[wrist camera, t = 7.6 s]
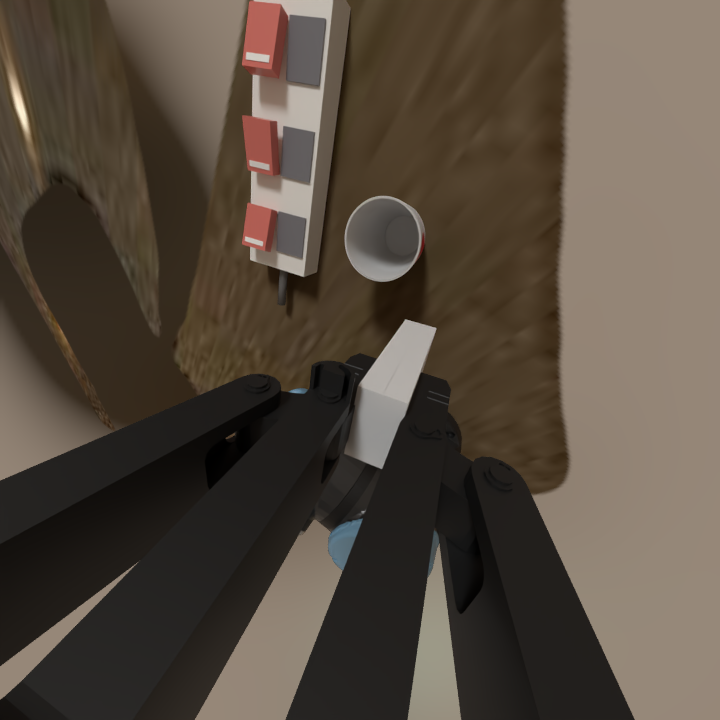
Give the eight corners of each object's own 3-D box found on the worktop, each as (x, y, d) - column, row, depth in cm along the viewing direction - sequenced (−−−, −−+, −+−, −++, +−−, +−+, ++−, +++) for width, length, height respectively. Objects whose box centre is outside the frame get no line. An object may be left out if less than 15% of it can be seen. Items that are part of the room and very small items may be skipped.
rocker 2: (279, 174, 36) (272, 176, 35) (255, 168, 37) (247, 170, 36) (277, 121, 33) (269, 121, 32) (250, 115, 34) (241, 115, 33)
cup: (401, 280, 41) (381, 297, 32) (361, 236, 40) (330, 241, 32) (448, 235, 37) (438, 240, 28) (404, 185, 36) (381, 175, 27)
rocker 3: (270, 252, 40) (264, 250, 39) (248, 245, 41) (241, 244, 39) (277, 211, 38) (271, 208, 37) (254, 205, 39) (247, 202, 38)
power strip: (312, 309, 48) (298, 316, 44) (265, 292, 50) (248, 298, 46) (350, 8, 31) (333, -20, 27) (277, 1, 33) (252, -26, 29)
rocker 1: (279, 78, 31) (271, 69, 30) (250, 74, 32) (241, 64, 31) (288, 16, 30) (280, 3, 28) (258, 13, 30) (249, 0, 29)
